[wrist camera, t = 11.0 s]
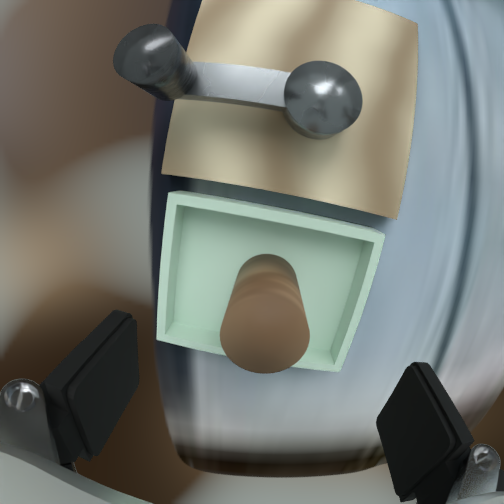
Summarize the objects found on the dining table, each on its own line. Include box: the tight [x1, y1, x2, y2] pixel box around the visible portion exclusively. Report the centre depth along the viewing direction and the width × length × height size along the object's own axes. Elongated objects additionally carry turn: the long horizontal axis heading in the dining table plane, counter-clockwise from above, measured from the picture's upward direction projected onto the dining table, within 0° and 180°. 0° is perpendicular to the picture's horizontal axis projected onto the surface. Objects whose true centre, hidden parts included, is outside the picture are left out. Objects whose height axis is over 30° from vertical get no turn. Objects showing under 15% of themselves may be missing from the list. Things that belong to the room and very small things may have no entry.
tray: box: [157, 190, 385, 372], centre depth 19 cm, size 13×10×2 cm
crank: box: [113, 24, 363, 140], centre depth 12 cm, size 11×4×6 cm, turn 80°
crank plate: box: [161, 0, 418, 220], centre depth 16 cm, size 15×15×2 cm
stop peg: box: [220, 254, 310, 373], centre depth 16 cm, size 4×4×7 cm
